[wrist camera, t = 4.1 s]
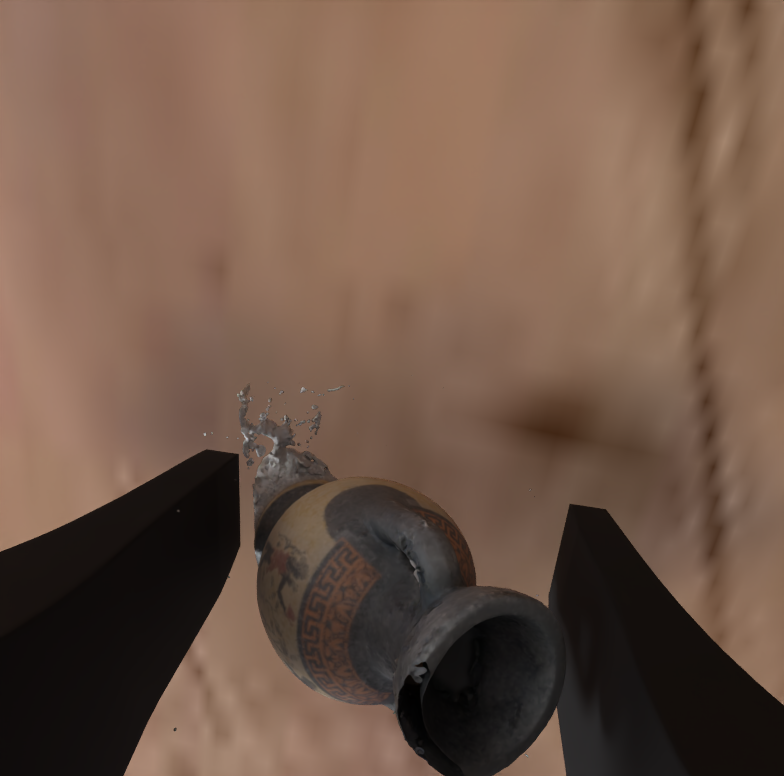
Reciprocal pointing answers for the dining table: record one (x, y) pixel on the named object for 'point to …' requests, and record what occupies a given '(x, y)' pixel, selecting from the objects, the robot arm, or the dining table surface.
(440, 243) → the dining table surface
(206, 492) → the robot arm
